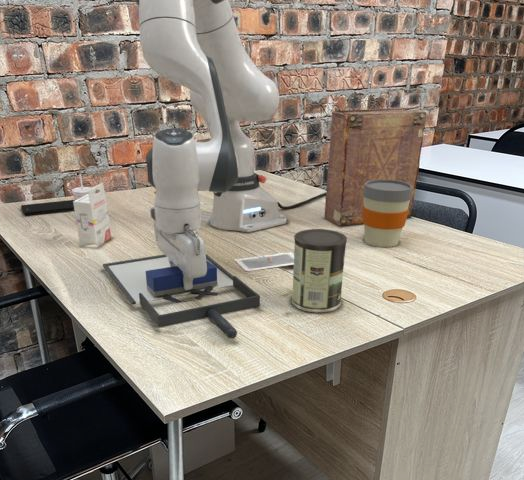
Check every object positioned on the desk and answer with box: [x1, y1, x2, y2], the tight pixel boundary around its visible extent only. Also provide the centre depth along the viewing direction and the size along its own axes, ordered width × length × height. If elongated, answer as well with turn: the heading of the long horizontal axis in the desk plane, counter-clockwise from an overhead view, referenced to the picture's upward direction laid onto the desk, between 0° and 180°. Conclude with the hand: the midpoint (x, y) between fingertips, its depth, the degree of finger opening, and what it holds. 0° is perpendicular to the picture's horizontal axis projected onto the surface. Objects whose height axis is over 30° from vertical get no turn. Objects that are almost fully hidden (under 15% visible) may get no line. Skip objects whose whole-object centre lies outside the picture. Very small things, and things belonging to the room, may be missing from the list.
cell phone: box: [20, 199, 75, 216], centre depth 171 cm, size 9×18×1 cm, turn 117°
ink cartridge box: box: [73, 182, 112, 247], centre depth 142 cm, size 9×5×15 cm, turn 168°
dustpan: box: [139, 275, 261, 340], centre depth 107 cm, size 22×21×3 cm
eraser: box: [146, 261, 218, 297], centre depth 117 cm, size 14×5×4 cm, turn 119°
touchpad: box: [234, 251, 294, 272], centre depth 132 cm, size 8×15×2 cm, turn 113°
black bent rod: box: [163, 294, 202, 304], centre depth 113 cm, size 8×3×1 cm, turn 85°
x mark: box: [190, 286, 219, 300], centre depth 116 cm, size 5×4×1 cm
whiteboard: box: [102, 253, 234, 305], centre depth 125 cm, size 24×23×2 cm
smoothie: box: [71, 173, 97, 200], centre depth 156 cm, size 6×6×14 cm
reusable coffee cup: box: [362, 180, 412, 248], centre depth 147 cm, size 12×13×15 cm
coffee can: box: [291, 228, 348, 313], centre depth 112 cm, size 10×10×14 cm
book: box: [323, 107, 428, 227], centre depth 161 cm, size 25×9×30 cm, turn 114°
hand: (181, 282), depth 117 cm, fingers closed on eraser, 5 cm apart
